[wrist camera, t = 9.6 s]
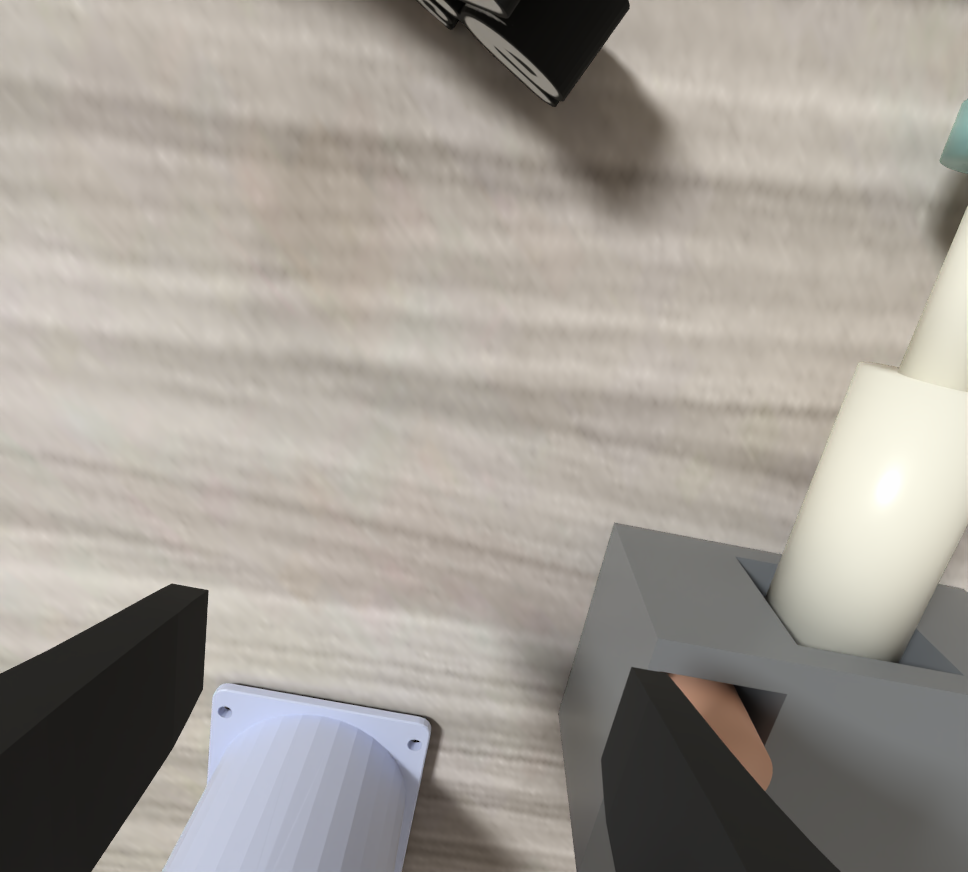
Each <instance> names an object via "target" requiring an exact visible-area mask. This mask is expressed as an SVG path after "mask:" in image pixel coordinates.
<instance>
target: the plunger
mask: <svg viewBox="0 0 968 872" xmlns="http://www.w3.org/2000/svg"><path fill="white" fill-rule="evenodd" d="M659 672H661V671H659ZM663 673H667V672H663ZM667 674H668V676H669V677H670V678H671V679H672V680H673V681H674V682H675V684H676V685H677V686H678V687H679V688H680V690H681V691H682V692H683V693H684V695H685V696H686V697H687V698H688V699H689V701H690V702H691V703H692V704H693V706H694V707H695V708H696V709H697V711H698V712H699V713H700V714H701V715H702V717H703V718H704V719H705V720H706V722H707V723H708V724H709V725H710V727H711V728H712V729H713V730H714V731H715V733H716V734H717V735H718V736H719V738H720V739H721V740H722V741H723V742H724V744H725V745H726V746H727V747H728V749H729V750H730V751H731V752H732V753H733V755H734V756H735V757H736V758H737V759H738V760H739V762H740V763H741V764H742V765H743V766H744V768H745V769H746V770H747V771H748V772H749V773H750V775H751V776H752V777H753V778H754V779H755V780H756V782H757V783H758V784H759V785H760V786H761V787H762V788H763V790H764V791H766V789H767V788H768V786H769V784H770V781H771V779H772V774H773V767H772V762H771V759H770V757H769V755H768V753H767V751H766V749H765V747H764V745H763V743H762V741H761V739H760V737H759V735H758V733H757V731H756V729H755V727H754V725H753V723H752V721H751V719H750V717H749V715H748V713H747V711H746V709H745V707H744V705H743V703H742V701H741V699H740V697H739V695H738V693H737V691H736V689H735V687H734V685H733V684H728V683H722V682H717V681H711V680H706V679H700V678H695V677H689V676H684V675H678V674H673V673H667Z"/></svg>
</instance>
